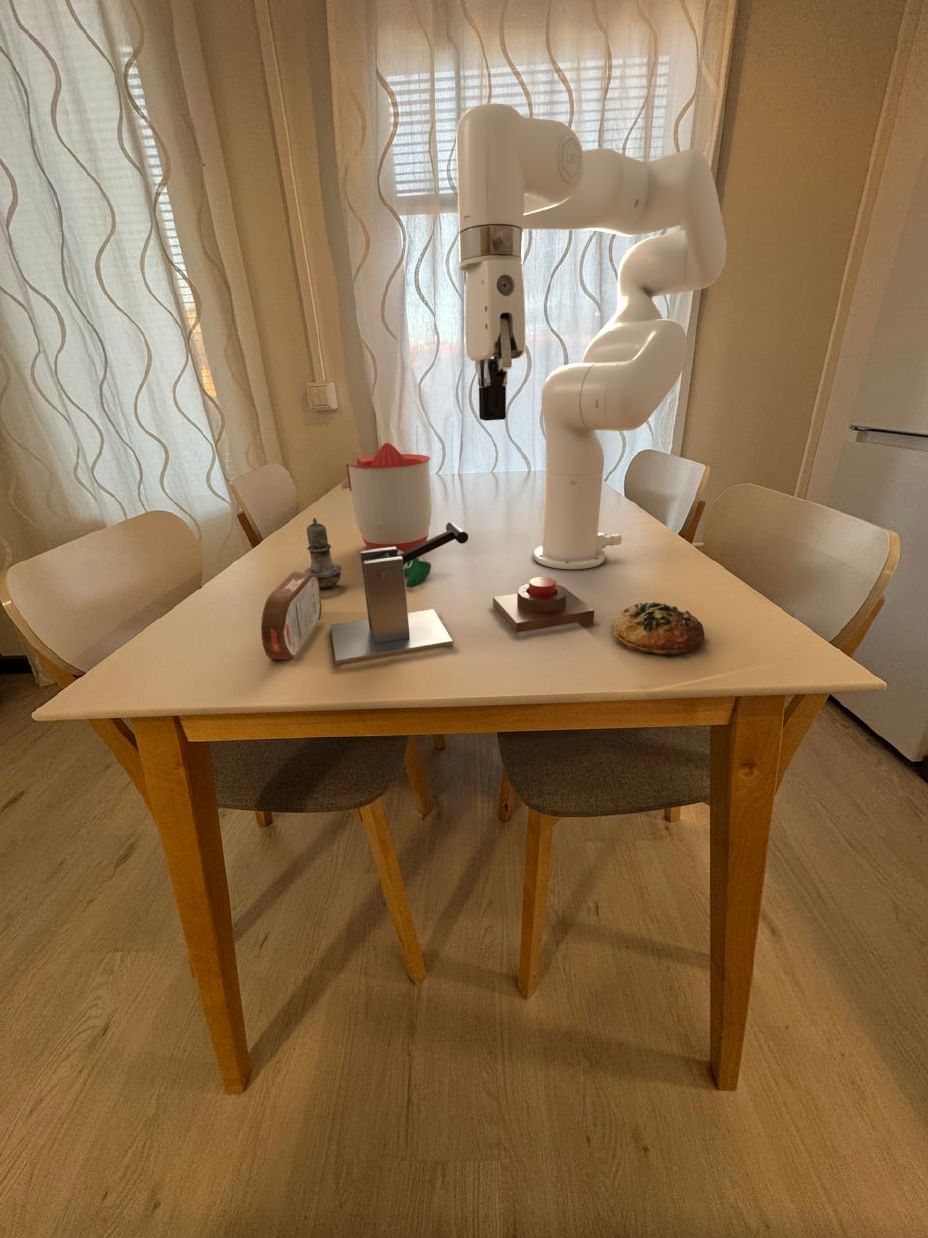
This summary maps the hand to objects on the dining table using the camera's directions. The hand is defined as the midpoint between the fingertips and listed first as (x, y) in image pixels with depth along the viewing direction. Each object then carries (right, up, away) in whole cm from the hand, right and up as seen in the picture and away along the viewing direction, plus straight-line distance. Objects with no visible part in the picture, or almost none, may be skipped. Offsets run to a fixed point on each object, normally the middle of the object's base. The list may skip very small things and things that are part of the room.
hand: (492, 419), depth 67 cm
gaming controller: (-13, -21, +17) cm, 30 cm away
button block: (+7, -27, +2) cm, 28 cm away
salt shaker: (-26, -22, +14) cm, 37 cm away
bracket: (-13, -30, -3) cm, 33 cm away
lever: (-9, -20, -6) cm, 23 cm away
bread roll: (+20, -29, -4) cm, 36 cm away
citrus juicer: (-18, -12, +34) cm, 41 cm away
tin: (-25, -30, -2) cm, 39 cm away
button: (+7, -23, 0) cm, 24 cm away
